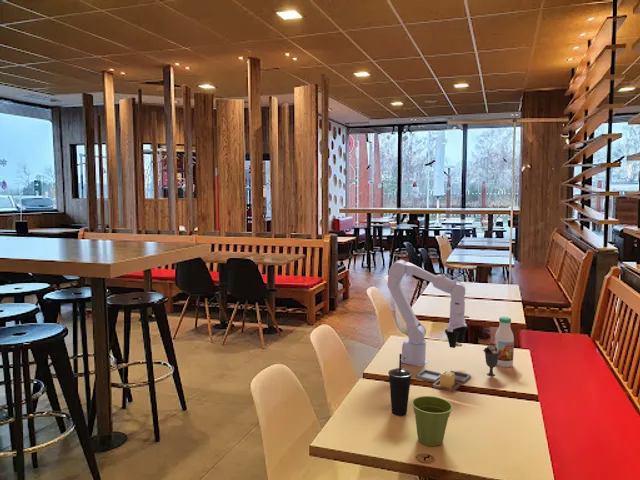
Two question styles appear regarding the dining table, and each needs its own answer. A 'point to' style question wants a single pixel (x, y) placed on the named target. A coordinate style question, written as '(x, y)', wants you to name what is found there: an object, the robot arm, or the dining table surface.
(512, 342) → the milk bottle
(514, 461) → the dining table surface
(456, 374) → the back dish
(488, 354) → the sundae
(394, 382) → the drinking cup
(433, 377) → the left dish
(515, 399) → the dining table surface
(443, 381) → the letter cube
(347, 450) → the dining table surface
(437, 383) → the front dish
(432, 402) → the plant pot
